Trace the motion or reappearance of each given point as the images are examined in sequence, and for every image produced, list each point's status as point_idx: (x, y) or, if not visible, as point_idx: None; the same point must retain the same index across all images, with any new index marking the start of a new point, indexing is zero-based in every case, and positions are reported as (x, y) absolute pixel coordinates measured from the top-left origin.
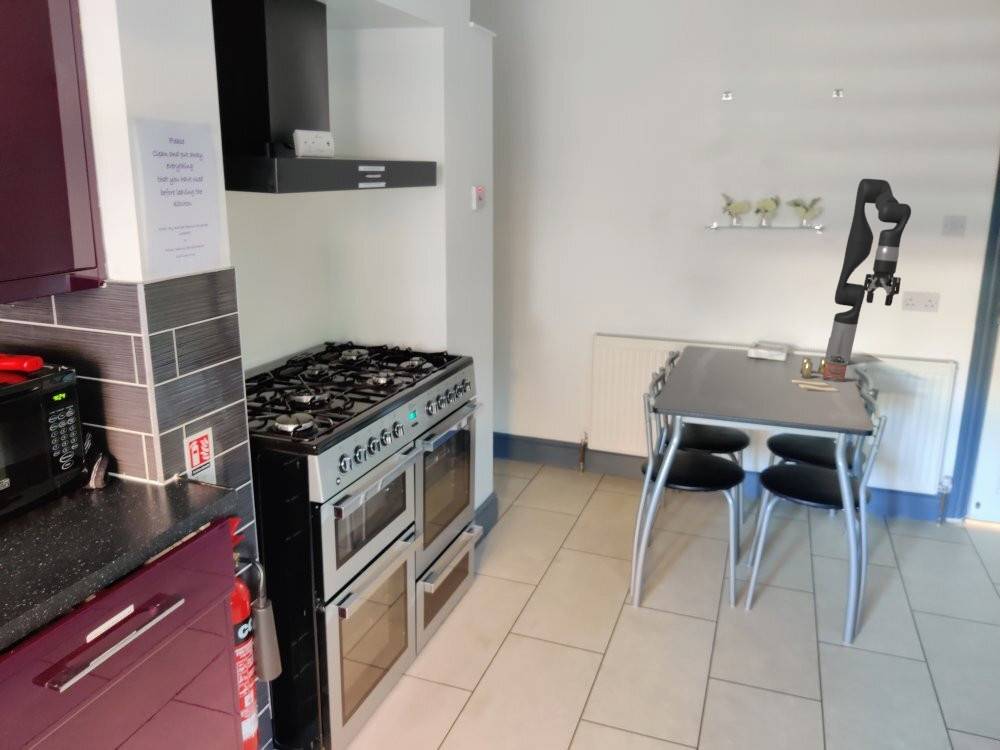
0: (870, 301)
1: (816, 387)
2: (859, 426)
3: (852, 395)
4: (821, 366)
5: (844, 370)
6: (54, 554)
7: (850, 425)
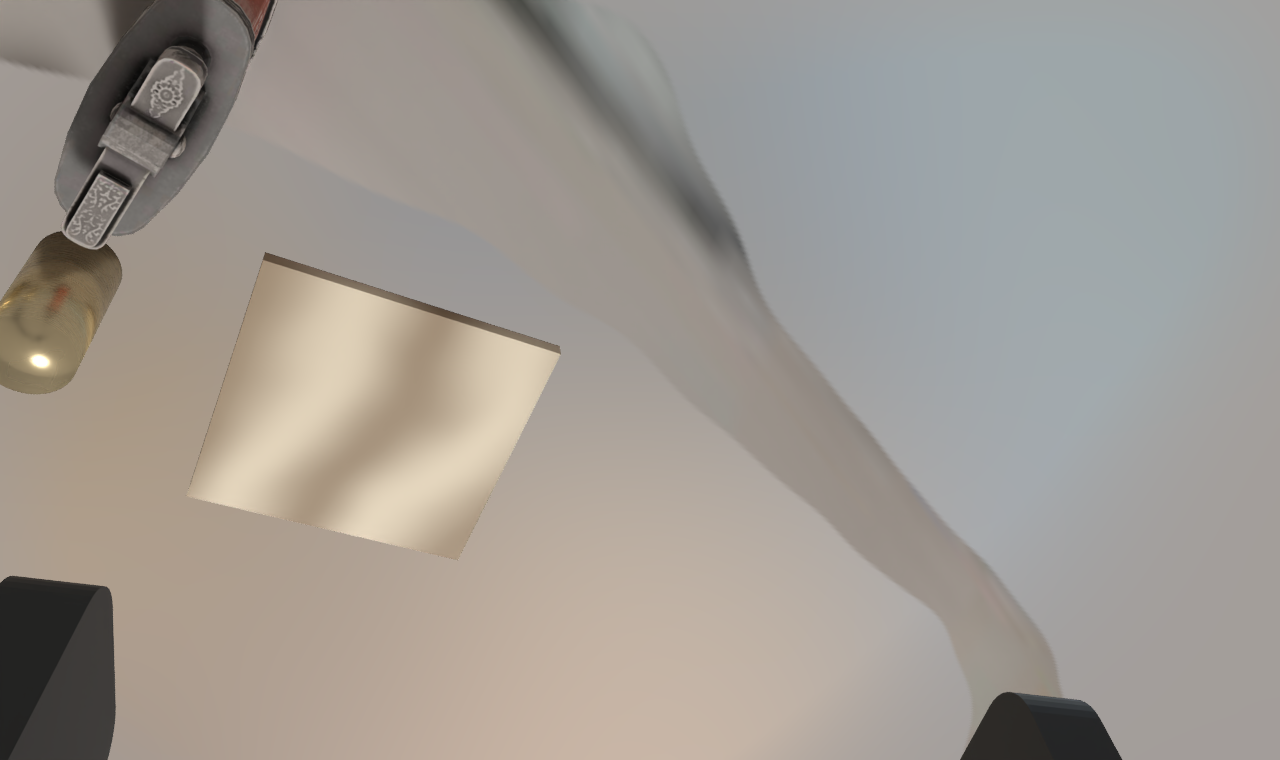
0: (85, 699)
1: (438, 466)
2: None
3: (665, 293)
4: None
5: (257, 23)
6: None
7: None
